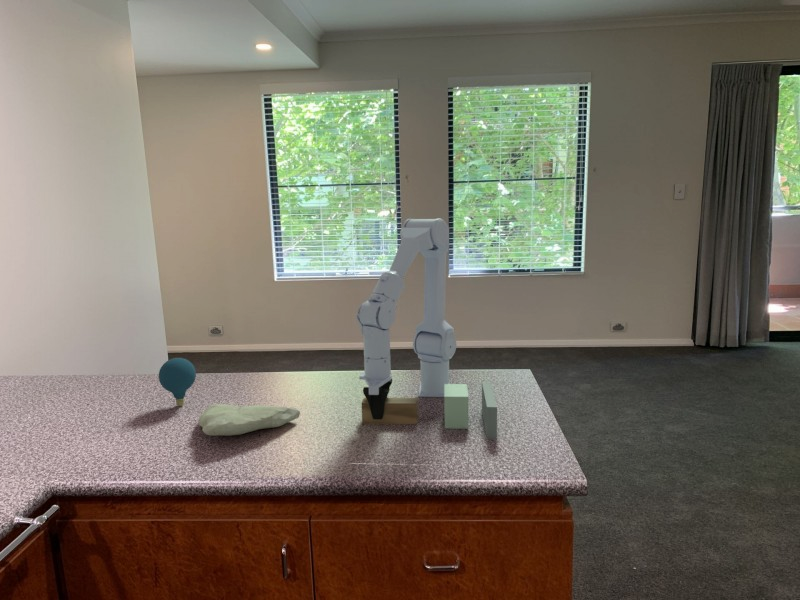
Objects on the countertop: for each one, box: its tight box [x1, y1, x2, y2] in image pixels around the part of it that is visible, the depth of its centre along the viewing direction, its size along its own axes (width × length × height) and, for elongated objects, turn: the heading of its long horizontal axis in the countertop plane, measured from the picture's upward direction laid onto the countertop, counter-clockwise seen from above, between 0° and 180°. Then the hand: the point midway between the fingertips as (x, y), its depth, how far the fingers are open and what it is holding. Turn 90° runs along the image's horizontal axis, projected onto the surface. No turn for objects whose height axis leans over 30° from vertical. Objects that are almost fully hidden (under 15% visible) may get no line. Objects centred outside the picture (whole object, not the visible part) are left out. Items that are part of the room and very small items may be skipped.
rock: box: [197, 403, 301, 437], centre depth 115 cm, size 24×6×20 cm
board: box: [481, 380, 498, 440], centre depth 115 cm, size 16×2×7 cm, turn 175°
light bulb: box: [158, 357, 197, 407], centre depth 130 cm, size 8×8×12 cm
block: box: [443, 383, 469, 430], centre depth 117 cm, size 8×5×7 cm, turn 175°
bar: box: [361, 397, 419, 425], centre depth 119 cm, size 4×12×5 cm, turn 86°
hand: (379, 415), depth 119 cm, fingers closed on bar, 3 cm apart
